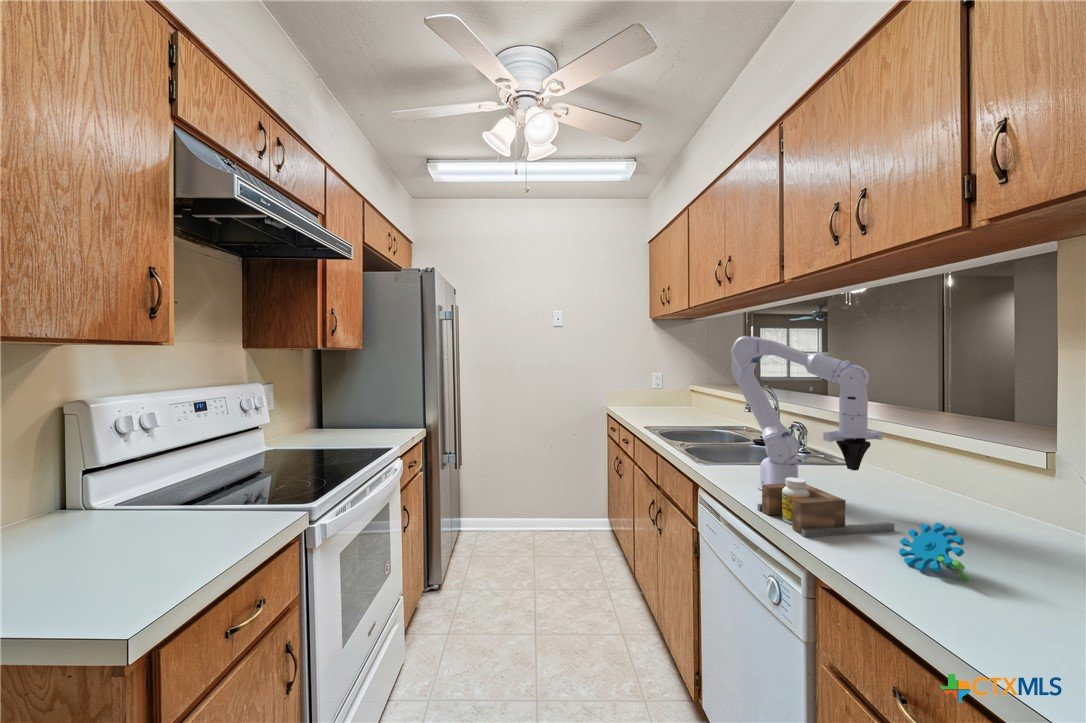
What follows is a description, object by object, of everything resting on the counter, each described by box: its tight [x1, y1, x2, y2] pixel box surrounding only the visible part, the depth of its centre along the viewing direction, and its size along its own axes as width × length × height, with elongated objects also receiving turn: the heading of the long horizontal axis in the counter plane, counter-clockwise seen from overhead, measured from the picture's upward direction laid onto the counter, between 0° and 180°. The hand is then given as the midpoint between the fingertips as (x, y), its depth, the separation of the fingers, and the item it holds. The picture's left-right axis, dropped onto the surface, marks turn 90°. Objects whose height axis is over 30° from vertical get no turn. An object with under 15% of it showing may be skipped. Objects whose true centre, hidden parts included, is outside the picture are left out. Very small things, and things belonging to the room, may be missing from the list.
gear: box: [898, 522, 970, 582], centre depth 78 cm, size 11×6×10 cm
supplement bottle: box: [781, 477, 809, 525], centre depth 100 cm, size 5×5×10 cm
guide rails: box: [757, 503, 895, 538], centre depth 101 cm, size 16×21×2 cm
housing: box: [761, 483, 846, 534], centre depth 100 cm, size 13×10×6 cm
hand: (852, 469), depth 108 cm, fingers closed
